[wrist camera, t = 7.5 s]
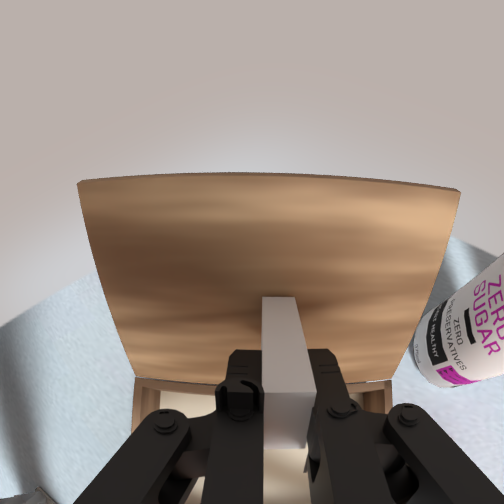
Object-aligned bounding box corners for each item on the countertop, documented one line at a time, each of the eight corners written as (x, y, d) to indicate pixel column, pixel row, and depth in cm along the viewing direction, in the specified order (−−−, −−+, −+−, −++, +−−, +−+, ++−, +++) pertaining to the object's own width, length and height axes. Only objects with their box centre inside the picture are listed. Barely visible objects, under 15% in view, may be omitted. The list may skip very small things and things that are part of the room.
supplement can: (483, 354, 23) (588, 300, 10) (435, 405, 21) (560, 378, 8) (446, 295, 26) (538, 212, 13) (395, 339, 24) (502, 265, 11)
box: (362, 526, 16) (383, 545, 11) (153, 524, 16) (133, 544, 12) (367, 385, 23) (391, 379, 18) (156, 383, 23) (135, 377, 19)
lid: (391, 378, 17) (461, 192, 11) (135, 375, 18) (76, 183, 11) (389, 372, 18) (455, 188, 11) (137, 370, 18) (82, 180, 12)
